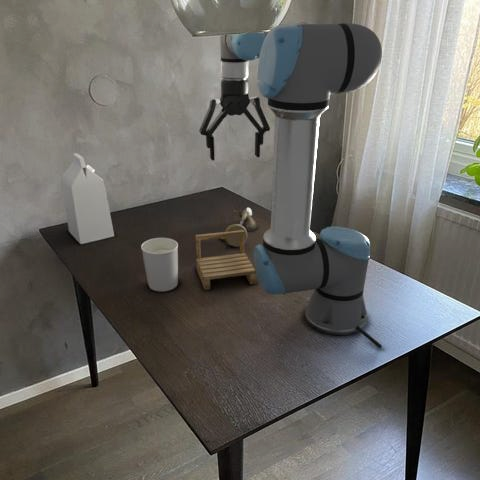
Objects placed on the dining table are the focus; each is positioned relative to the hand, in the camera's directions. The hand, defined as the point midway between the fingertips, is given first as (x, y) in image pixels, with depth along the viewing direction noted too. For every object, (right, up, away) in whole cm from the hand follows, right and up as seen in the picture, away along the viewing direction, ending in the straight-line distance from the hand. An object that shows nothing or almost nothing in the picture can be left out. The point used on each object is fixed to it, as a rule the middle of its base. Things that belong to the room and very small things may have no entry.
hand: (235, 157), depth 149 cm
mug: (0, -22, +17) cm, 28 cm away
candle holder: (-20, -38, -7) cm, 43 cm away
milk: (-48, -19, +22) cm, 56 cm away
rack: (-3, -35, -2) cm, 35 cm away
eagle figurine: (+3, -15, +28) cm, 32 cm away
